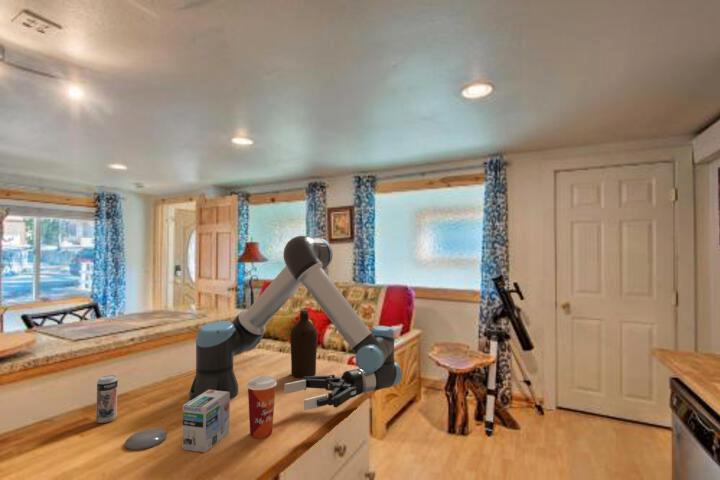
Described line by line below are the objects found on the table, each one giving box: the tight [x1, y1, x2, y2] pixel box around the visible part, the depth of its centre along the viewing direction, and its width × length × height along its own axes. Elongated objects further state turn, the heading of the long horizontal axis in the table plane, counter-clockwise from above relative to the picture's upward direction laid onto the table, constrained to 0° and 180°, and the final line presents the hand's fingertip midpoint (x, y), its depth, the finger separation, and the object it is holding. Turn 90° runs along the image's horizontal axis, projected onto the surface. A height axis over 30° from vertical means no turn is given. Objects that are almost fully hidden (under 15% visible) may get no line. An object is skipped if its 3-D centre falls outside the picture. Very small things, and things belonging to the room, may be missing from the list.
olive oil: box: [289, 309, 319, 379], centre depth 143 cm, size 11×11×25 cm
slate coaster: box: [125, 428, 168, 451], centre depth 92 cm, size 9×9×1 cm
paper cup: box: [246, 375, 278, 440], centre depth 96 cm, size 8×8×14 cm
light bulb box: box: [181, 390, 231, 453], centre depth 92 cm, size 11×7×11 cm, turn 168°
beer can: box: [95, 374, 119, 424], centre depth 103 cm, size 5×5×12 cm
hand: (294, 396), depth 101 cm, fingers open, 13 cm apart
